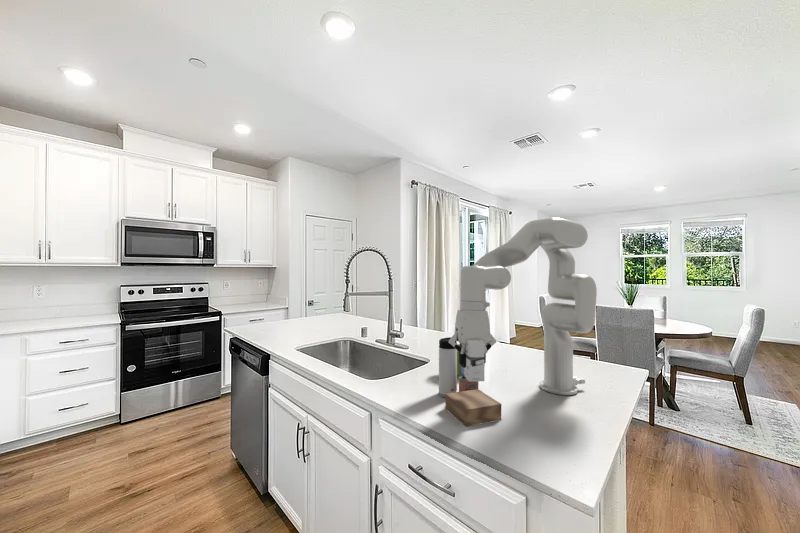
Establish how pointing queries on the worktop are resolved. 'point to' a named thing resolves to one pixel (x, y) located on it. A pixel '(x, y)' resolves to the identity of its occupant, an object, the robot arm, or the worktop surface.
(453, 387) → the travel mug
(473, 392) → the walnut block
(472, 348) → the ink box
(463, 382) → the lighter
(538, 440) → the worktop surface
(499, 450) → the worktop surface
